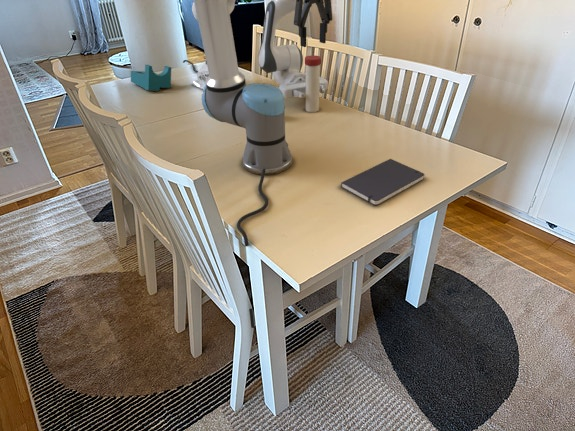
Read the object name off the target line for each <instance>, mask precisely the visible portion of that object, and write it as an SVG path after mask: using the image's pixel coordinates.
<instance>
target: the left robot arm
mask: <svg viewBox="0 0 575 431" xmlns="http://www.w3.org/2000/svg"><path fill="white" fill-rule="evenodd" d="M236 1H237V0H227V2H228V8H229V14H230V15H231V14H232V12H233V11H234V9H235V5H236V4H235V3H236ZM295 6H296V0H270V1H269V2H268V3H267V4H266V8H265V13H264V18H263V26H262V27H263V28H262V35H261V42H260V47H259V50H258V56H257V62H258V67H260V70H262V71H263V72H265V73H266V74H270V73H272V77H273V79H274V81H275V82H276V84H277V85H278V86H276V87H277V88H278V89H280V90H281V92H282V93H283V96H284V99H290V98H296V97H297V98H300V99H301V98H302V99H303V98H305V96H306V72H301V70H302V68H303V64H304V56H303V55H304V54H303V52H302V51H301V48H299V46H298V45H296V44H293V43H292V44H283V45H274V44H275V37H276V31H277V26H278V24H279V22H280V20H282V19H283V18H284V17H286V16H287V15H289V14H292V13H293V12H295ZM191 11H192V15H193V17H194V18H195V20H196V21H197V22H198V18H197V14H196V9H195V4H194V1H193V2H192V6H191ZM203 60H205V63H204V65H203V66H202V67H200V69H198V70H196V69H195V65H194V63H193V62H192V61H190V60H187V59H184V60H183V61H182V63H184V64H185V62H186V63H188V64H190V65H191V67H192V70H193V71H194V73H197V74H196V76H197V79H196V80H195V81H193V82H192V85H193V87H195V88H198V89H200V90H203V89H204V87H205V85H206V79H207V78H208V77H209V71H208V66H207V61H206V57H205V55H204V56H203ZM328 89H329V81H328V79H325V78H324V77H322V76H320V89H319V94H326V91H327V90H328Z"/></svg>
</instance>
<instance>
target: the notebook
mask: <svg viewBox="0 0 575 431" xmlns="http://www.w3.org/2000/svg"><path fill="white" fill-rule="evenodd" d="M424 176H425V173H424V172H422V171H420V170H417V169H415V168H413V167H410V166H408V165H406V164H404V163H401V162H399V161H397V160H395V159H393V158H389V159H387V160H385V161H382V162H380V163H379V164H377V165H375V166H372V167H370V168H368V169H366V170H364V171H362V172H360V173H358V174H356V175H353V176H351V177H350V178H348V179H345V180H344V181H341V182H340V183H341V184H340V187H341V188H342V189H344V190H345V191H347V192H349V193H350V194H353V195H355V196H356V197H358V198H360V199H362V200H363V201H365V202H367V203H369V204H371V205H373V206H379V205H381V204H382V203H384V202H386V201H388V200H390V199H391V198H393V197H395V196H397V195H398V194H400V193H402V192H404V191H406V190H407V189H409V188H411V187H413V186H415V185H416V184H418V183H420V182H422V181H423V180H424Z"/></svg>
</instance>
